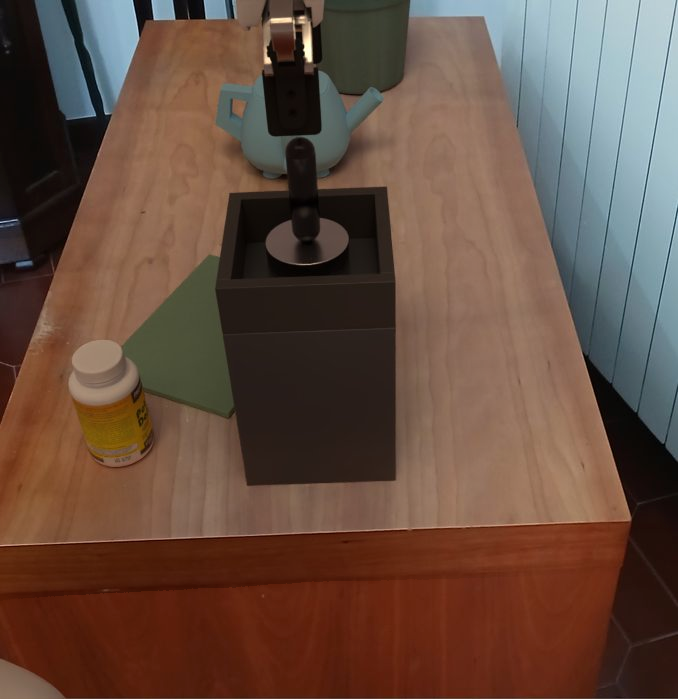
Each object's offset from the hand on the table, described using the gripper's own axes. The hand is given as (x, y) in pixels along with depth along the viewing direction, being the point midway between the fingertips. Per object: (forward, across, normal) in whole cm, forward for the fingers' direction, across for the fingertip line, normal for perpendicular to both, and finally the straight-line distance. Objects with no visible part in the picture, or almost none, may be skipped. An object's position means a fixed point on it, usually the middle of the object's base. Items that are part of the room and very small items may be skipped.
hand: (297, 95), depth 59 cm
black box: (+30, 0, 0) cm, 30 cm away
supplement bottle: (+31, +2, -17) cm, 35 cm away
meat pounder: (+14, 0, 0) cm, 14 cm away
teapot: (+31, -45, -3) cm, 55 cm away
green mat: (+31, -13, -10) cm, 35 cm away
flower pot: (+31, -68, +5) cm, 75 cm away
